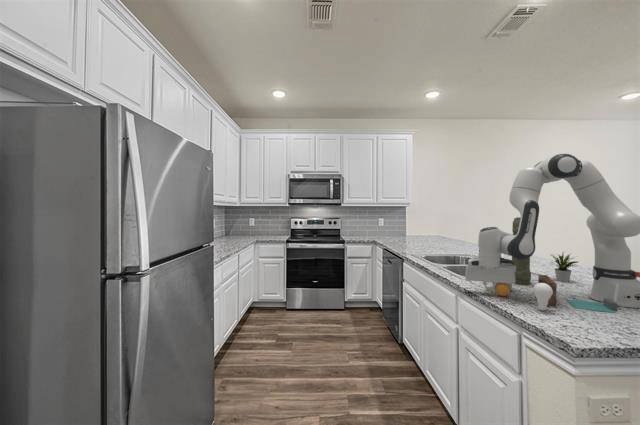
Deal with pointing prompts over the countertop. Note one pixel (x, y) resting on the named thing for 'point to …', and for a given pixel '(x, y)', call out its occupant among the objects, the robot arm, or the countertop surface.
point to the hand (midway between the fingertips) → (489, 291)
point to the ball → (502, 289)
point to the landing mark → (589, 305)
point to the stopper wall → (610, 304)
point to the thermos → (521, 262)
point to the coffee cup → (507, 262)
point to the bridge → (553, 285)
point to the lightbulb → (542, 294)
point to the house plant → (563, 268)
